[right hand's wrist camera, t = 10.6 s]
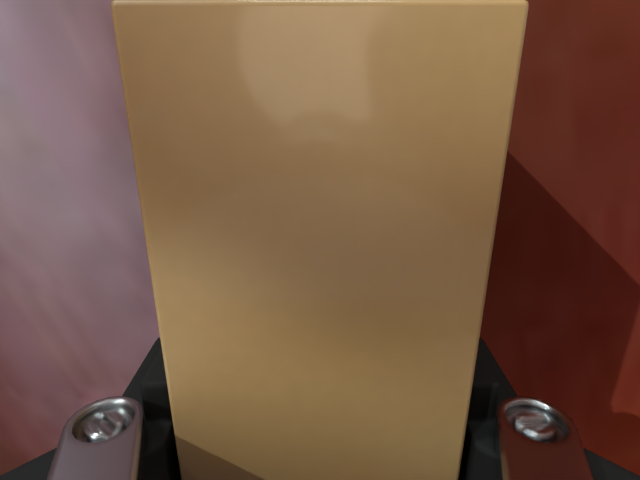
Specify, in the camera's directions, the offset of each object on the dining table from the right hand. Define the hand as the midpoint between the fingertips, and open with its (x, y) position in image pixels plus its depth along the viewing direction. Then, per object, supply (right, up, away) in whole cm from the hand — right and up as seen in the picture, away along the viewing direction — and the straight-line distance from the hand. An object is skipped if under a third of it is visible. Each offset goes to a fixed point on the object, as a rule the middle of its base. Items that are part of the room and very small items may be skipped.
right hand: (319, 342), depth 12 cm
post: (0, -19, +9) cm, 21 cm away
